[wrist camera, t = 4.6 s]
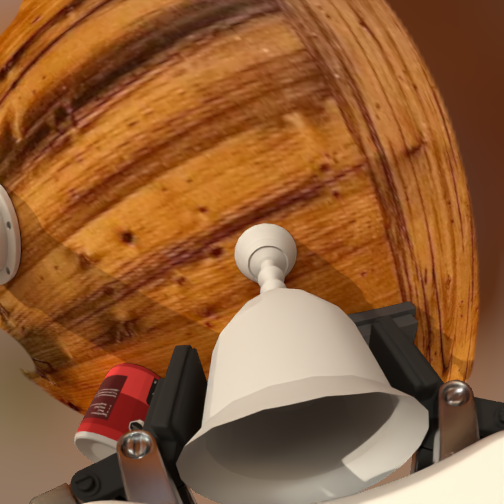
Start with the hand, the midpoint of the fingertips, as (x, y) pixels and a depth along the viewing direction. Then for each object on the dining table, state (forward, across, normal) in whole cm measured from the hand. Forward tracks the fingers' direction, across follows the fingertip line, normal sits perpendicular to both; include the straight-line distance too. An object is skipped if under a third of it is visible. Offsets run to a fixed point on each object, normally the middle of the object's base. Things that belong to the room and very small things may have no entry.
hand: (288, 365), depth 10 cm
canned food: (+13, +16, +14) cm, 25 cm away
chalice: (+13, 0, 0) cm, 13 cm away
